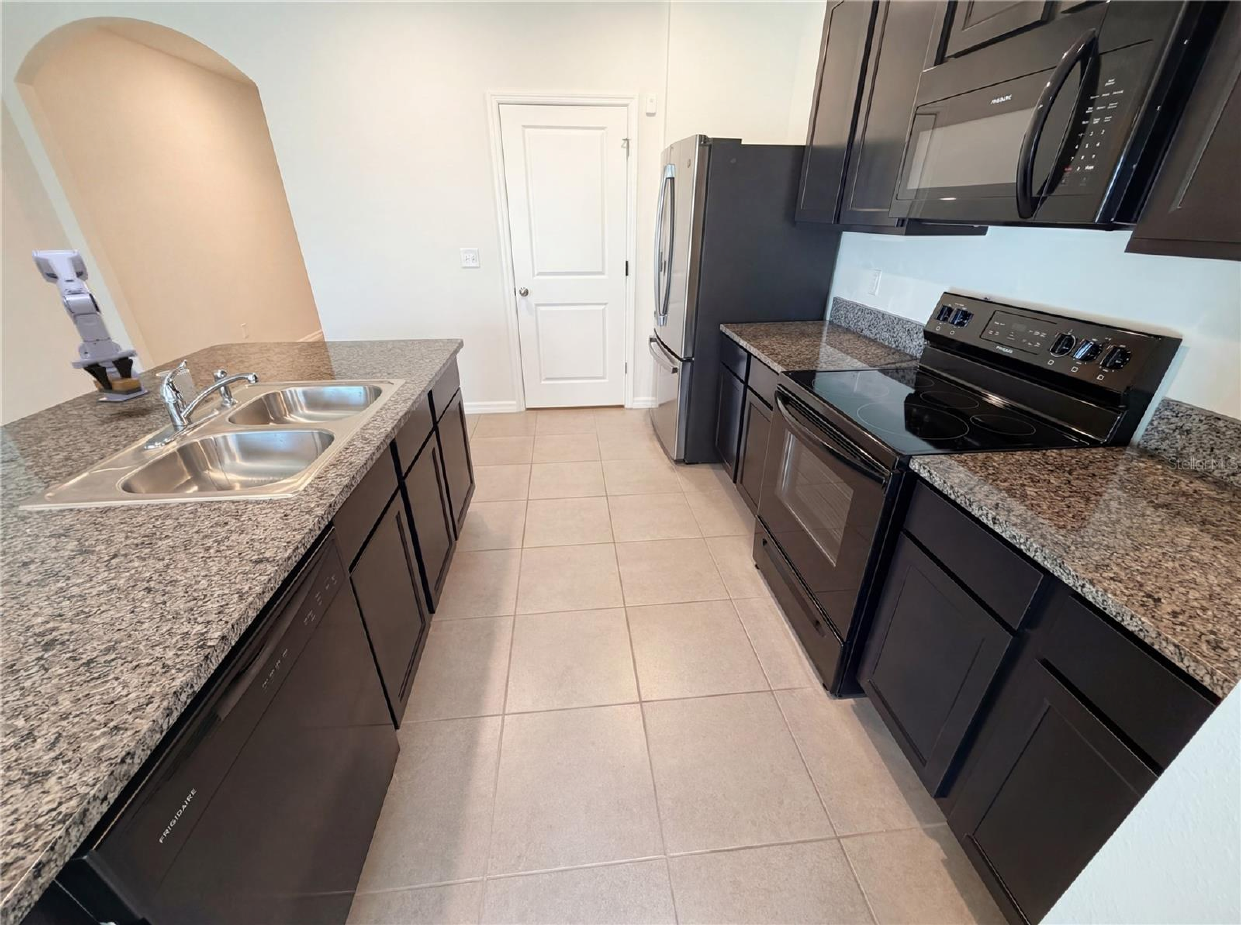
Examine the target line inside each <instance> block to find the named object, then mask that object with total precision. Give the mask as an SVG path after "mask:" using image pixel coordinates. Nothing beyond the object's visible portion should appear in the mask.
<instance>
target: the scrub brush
mask: <svg viewBox="0 0 1241 925" xmlns="http://www.w3.org/2000/svg"><path fill="white" fill-rule="evenodd" d="M108 379H109V381H110V383H111V385H112V389H113V390H105V389H104V387H103V386H102V385H101V384H100V383H99V382H98V381H97V380H96V379H93V380H92V382H93V384H94V386H95V388H96V389H97V390H98V392H99V393H102V394H104V393H111V394H121V395H130V394H134V393H137V392H141V391H142V389H141V384H140V382H139V379H135V378H124V377H114V376H109V377H108Z"/></svg>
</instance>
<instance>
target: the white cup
mask: <svg viewBox="0 0 1241 925" xmlns="http://www.w3.org/2000/svg"><path fill="white" fill-rule="evenodd" d="M182 369H183V370H180V372H178V373H177V375H176V376H175V377H174V378H173V382H174V384H175V385H176V387H177V389H178V390H179V391H180V393H181V395H182V396H183V398H184V401H185V402H186V403H189V402H190V401H192V400H193V399H194V398H196V397H198V394H197V390H196V386H195V383H194V380H193V377H192V374H191V370H190V369H188V368H182ZM171 370H172V369H169V370H165V371H160V372H158V373H156V374H155V375H156V378H157V380H158V382H159V383H160V386H161V385H162V383H163V380H164V379H165V377H166V375H167V374H169V373H170V371H171Z"/></svg>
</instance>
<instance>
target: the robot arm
mask: <svg viewBox="0 0 1241 925" xmlns="http://www.w3.org/2000/svg"><path fill="white" fill-rule="evenodd" d="M30 255H31V257H32V259H33V261H34V264H35V266H36V268H37V270H38V272H39V273H40V275H41V277H42V279H44V280H45V282H46V283H49V284H54V285H56V288H57V290H58V292H59V294H60V296H61V297H60V301H61V303H62V305H63V307H64V309H65V312H66V313H67V315H68V316H69V318H70V319H71V321H72V323H73V325H74V326H75V328H76V330H77V333H78V334H79V336H80V340H81V341H82V342H81V343H80V344H79V345H78V346H77V351H78V353H79V357H80V359H76V360H72V361H71V360H70V363H71V365H72V368H73V369H76V370H81V369H82V370H84V371H85V372H86V373H88V374H89V375H91V376H92V377H93V378H94V380H97V381H98V382H99V383H100V384H101V385H102V386H103V387H104V389H105V390H113V389H112V385H111V383H110V381H109V379H108V377H109V376H114V377H124V378H135V379H139V382H140V384H141V389H142V391H141V392H137V393H134V394H130V395H121V394H111V393H103V395H104V397H101V398H99V399H98V402H124V401H127V400H129V399H133V398H136V397H139V396H142V395H145V394H147V393H149V391H148V390H146V389H145V386H144V384H143V382H142V380H141V377H140V375H139V373H138V372H137V370H135V369H134V368H133V365H134V360H133V358H134V357H138V356H139V355H138V353H137V351H136V349H133V348H132V349H131V348H130V349H125V350H123V348H122V347H121V345H120V343H118V342H117V341H115V340H112V338H111V335H110V333H109V331H108V328H107V326H106V324H105V321H104V319H103V317H102V310H101V307H100V305H99V303H98V300H97V298H96V297H95V295H94V294H93V293H92V292H91V291H90V289H89V288H88V286H87V284H86V283H85V281H87V280H89V273H88V269H87V266H86V264H85V262H84V259H83V257H82V255H81V253H80V251H79V250H77V249H75V248H73V249H59V250H58V249H57V250H55V249H54V250H31V252H30Z"/></svg>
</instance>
